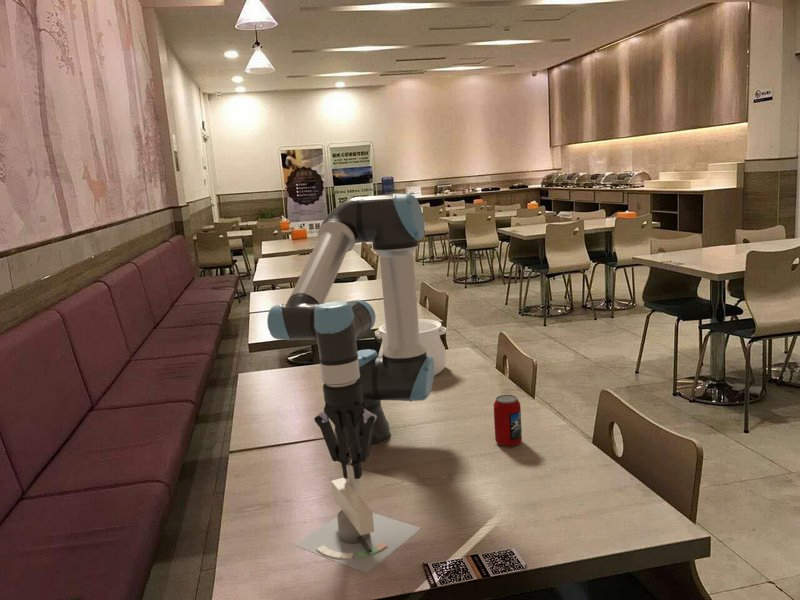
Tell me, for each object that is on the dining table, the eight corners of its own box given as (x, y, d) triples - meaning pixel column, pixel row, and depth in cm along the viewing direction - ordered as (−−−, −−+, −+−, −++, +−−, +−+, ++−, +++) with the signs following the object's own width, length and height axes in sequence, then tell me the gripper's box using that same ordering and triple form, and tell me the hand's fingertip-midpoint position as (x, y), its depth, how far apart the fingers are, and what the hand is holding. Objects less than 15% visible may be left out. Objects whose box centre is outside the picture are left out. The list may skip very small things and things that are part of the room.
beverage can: (521, 448, 164) (519, 402, 161) (494, 448, 165) (492, 402, 163) (522, 437, 170) (520, 393, 168) (496, 437, 172) (493, 393, 169)
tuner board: (294, 550, 126) (294, 543, 125) (352, 511, 139) (351, 504, 139) (367, 579, 115) (366, 571, 115) (422, 533, 128) (421, 526, 128)
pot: (371, 383, 225) (367, 336, 222) (384, 362, 249) (381, 319, 246) (445, 381, 221) (442, 333, 218) (451, 361, 244) (449, 317, 241)
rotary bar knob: (354, 560, 119) (350, 518, 117) (327, 521, 133) (323, 482, 132) (385, 551, 121) (381, 509, 120) (354, 513, 136) (351, 475, 134)
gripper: (378, 374, 130) (390, 485, 134) (318, 375, 134) (332, 483, 138) (366, 386, 123) (379, 503, 127) (303, 387, 127) (318, 500, 131)
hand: (355, 492), depth 132 cm, fingers closed
